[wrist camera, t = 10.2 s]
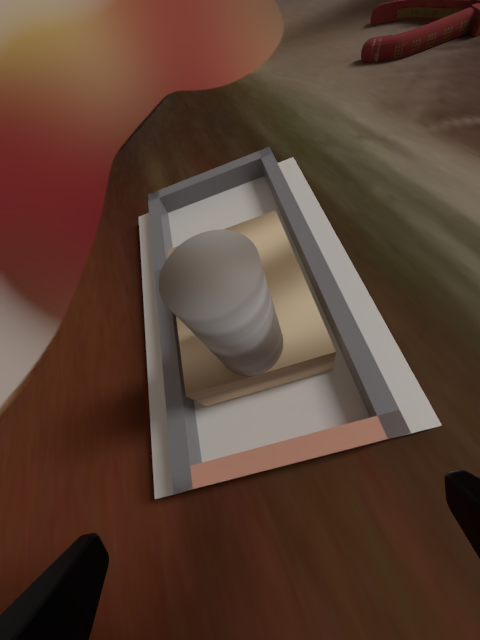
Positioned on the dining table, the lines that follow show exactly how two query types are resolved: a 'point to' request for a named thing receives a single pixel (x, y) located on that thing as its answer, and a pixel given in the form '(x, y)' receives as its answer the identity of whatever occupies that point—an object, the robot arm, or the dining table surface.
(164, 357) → the bay
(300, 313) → the cylinder on cream base
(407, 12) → the pliers
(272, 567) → the dining table surface
